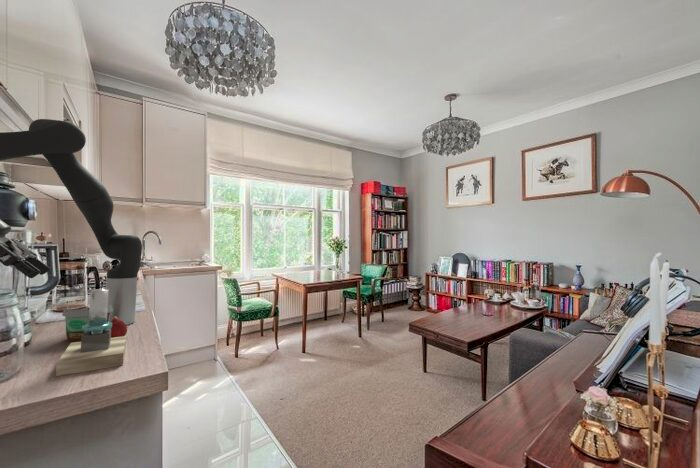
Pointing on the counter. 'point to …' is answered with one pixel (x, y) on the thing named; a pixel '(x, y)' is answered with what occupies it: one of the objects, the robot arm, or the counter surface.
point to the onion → (118, 328)
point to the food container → (77, 322)
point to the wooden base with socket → (92, 353)
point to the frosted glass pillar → (98, 312)
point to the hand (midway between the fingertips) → (41, 273)
